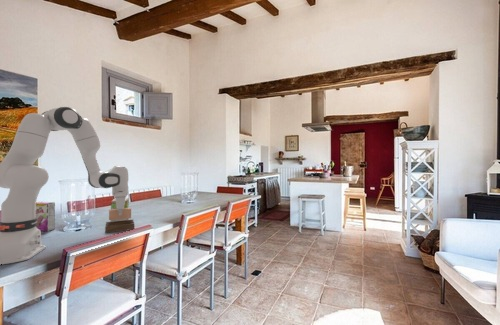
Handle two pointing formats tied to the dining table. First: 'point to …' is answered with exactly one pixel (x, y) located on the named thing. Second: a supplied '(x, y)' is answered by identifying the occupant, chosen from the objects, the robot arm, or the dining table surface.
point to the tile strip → (115, 215)
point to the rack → (119, 225)
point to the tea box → (113, 206)
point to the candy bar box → (45, 215)
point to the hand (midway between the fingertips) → (120, 214)
